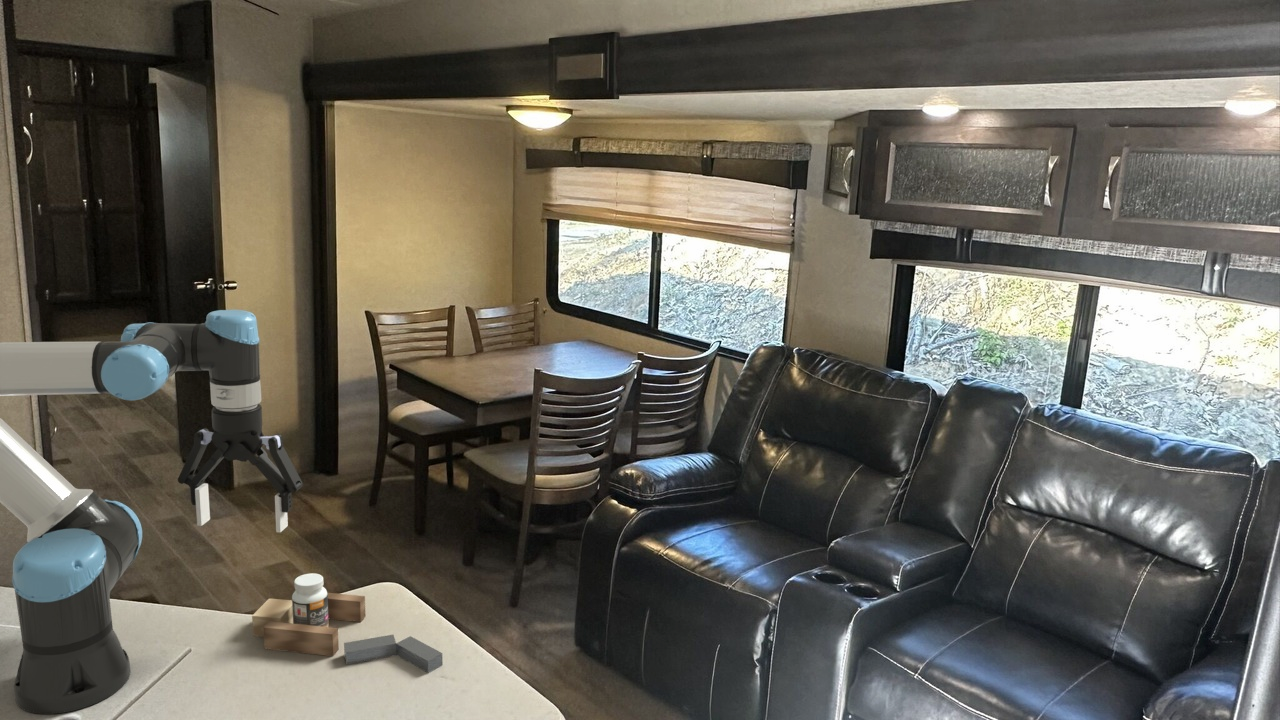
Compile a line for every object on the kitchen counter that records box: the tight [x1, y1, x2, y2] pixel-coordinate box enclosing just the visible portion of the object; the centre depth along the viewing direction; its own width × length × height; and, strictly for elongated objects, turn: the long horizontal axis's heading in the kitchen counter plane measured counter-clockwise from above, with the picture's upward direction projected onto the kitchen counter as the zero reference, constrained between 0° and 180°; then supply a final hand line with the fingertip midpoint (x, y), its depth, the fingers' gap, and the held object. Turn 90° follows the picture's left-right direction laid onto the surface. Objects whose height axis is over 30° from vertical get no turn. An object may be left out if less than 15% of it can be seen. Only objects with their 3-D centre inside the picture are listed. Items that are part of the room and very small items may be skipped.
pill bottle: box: [291, 572, 330, 627], centre depth 156 cm, size 6×6×10 cm
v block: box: [343, 634, 444, 674], centre depth 150 cm, size 17×7×2 cm, turn 83°
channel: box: [263, 592, 366, 657], centre depth 156 cm, size 12×13×4 cm
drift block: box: [251, 598, 293, 638], centre depth 157 cm, size 5×6×4 cm
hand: (242, 526), depth 153 cm, fingers open, 13 cm apart
